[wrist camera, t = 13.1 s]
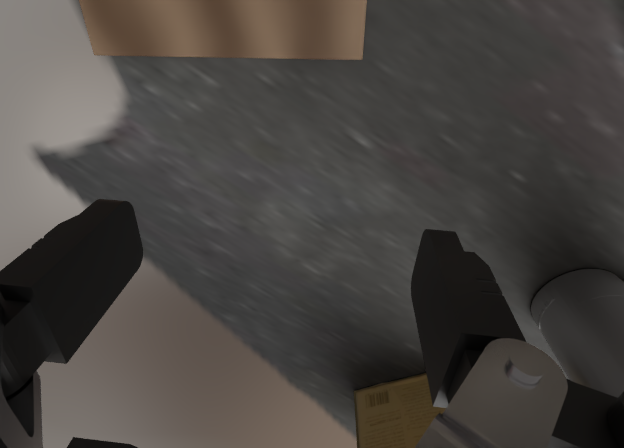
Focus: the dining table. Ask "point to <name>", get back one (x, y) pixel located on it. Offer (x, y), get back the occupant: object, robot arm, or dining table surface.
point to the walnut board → (227, 28)
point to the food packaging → (394, 413)
